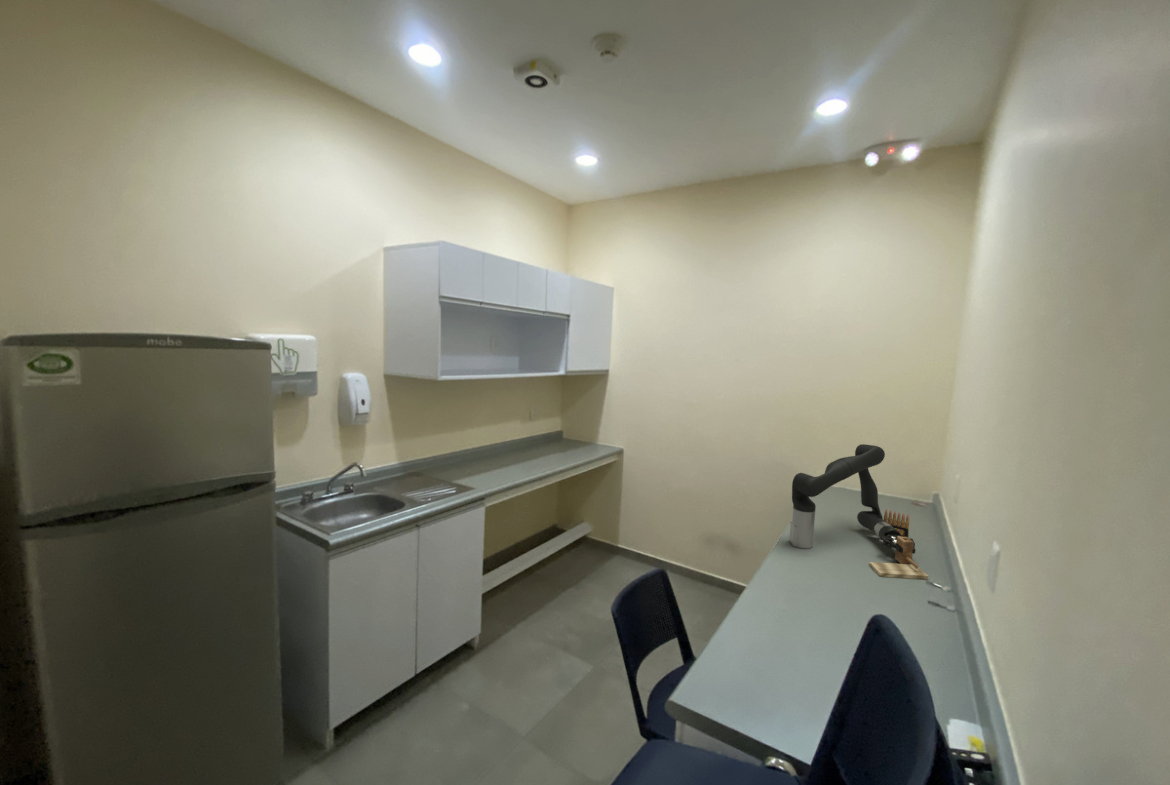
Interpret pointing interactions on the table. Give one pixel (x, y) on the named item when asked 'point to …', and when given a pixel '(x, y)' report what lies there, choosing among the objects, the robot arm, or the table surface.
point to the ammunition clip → (898, 523)
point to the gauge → (905, 551)
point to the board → (898, 570)
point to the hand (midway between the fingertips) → (908, 551)
